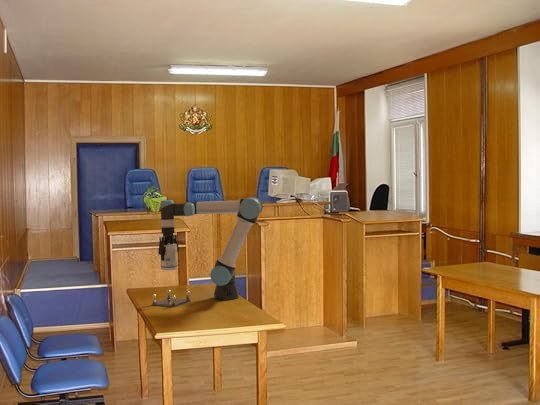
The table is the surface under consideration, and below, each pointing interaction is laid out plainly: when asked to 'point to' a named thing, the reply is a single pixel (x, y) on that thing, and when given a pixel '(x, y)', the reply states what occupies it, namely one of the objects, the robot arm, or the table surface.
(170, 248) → the supplement tub
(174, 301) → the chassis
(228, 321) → the table surface
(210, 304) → the table surface
